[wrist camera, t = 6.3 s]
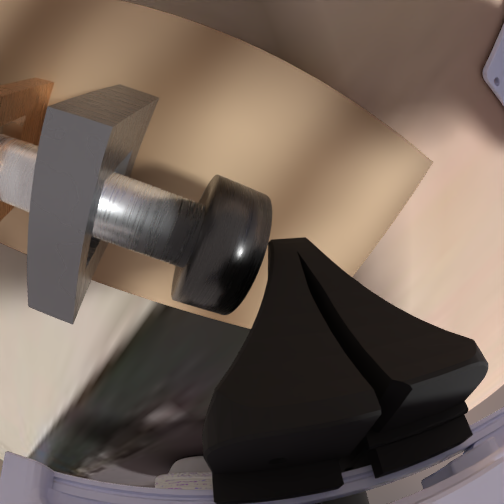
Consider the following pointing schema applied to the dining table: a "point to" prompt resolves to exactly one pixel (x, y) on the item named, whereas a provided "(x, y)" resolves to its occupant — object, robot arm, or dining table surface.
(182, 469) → the paper bowls
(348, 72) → the dining table surface
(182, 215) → the shaft
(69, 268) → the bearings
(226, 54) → the base board
